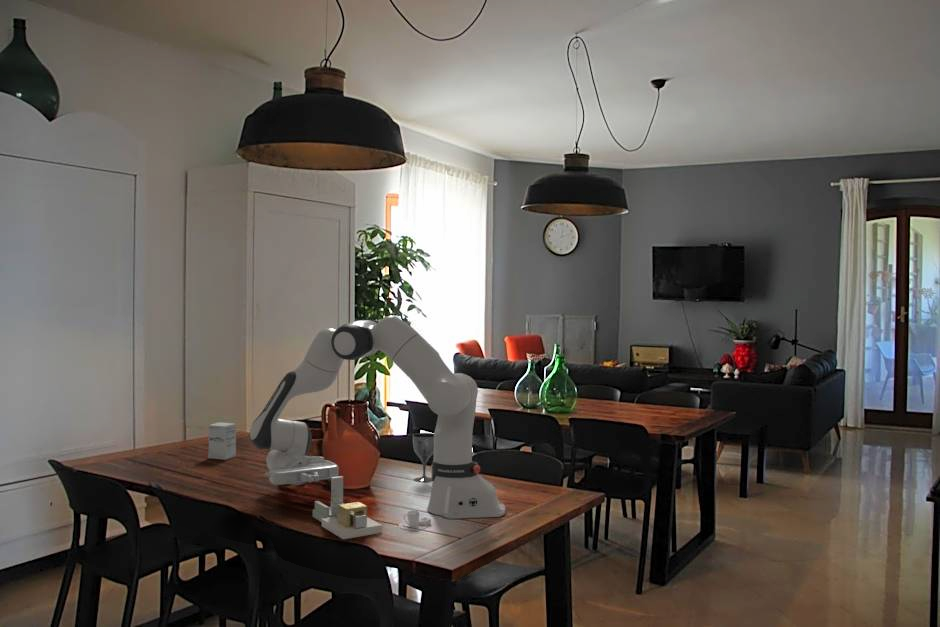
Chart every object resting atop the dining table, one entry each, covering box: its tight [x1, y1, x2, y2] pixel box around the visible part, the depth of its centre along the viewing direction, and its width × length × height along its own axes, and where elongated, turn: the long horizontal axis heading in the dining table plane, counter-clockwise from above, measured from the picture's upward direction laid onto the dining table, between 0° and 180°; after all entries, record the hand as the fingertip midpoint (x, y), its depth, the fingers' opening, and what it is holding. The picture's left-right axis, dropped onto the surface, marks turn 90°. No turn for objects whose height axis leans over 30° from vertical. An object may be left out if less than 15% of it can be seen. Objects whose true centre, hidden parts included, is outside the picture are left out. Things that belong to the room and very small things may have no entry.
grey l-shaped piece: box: [330, 475, 366, 528], centre depth 210 cm, size 15×3×10 cm, turn 34°
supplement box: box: [207, 422, 237, 461], centre depth 297 cm, size 7×7×13 cm
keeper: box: [338, 501, 368, 528], centre depth 208 cm, size 5×6×5 cm
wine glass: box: [412, 432, 434, 483], centre depth 267 cm, size 8×8×15 cm
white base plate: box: [321, 516, 383, 540], centre depth 210 cm, size 14×11×2 cm
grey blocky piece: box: [312, 500, 335, 523], centre depth 220 cm, size 8×7×4 cm
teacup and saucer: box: [398, 510, 432, 531], centre depth 214 cm, size 9×8×4 cm
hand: (314, 479), depth 228 cm, fingers closed
